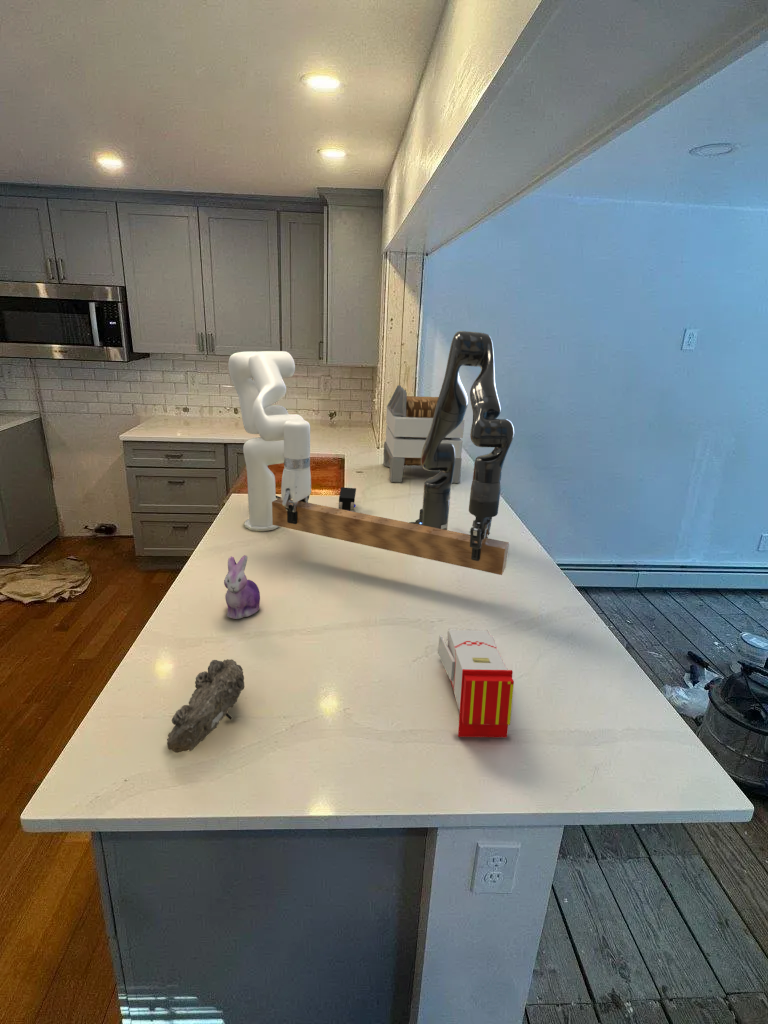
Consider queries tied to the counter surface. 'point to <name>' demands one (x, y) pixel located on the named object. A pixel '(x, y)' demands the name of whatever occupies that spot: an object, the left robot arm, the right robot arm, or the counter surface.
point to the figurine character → (347, 499)
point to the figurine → (240, 591)
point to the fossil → (206, 705)
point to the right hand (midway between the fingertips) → (478, 555)
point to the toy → (478, 682)
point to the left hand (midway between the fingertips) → (297, 519)
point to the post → (393, 535)
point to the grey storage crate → (413, 433)
